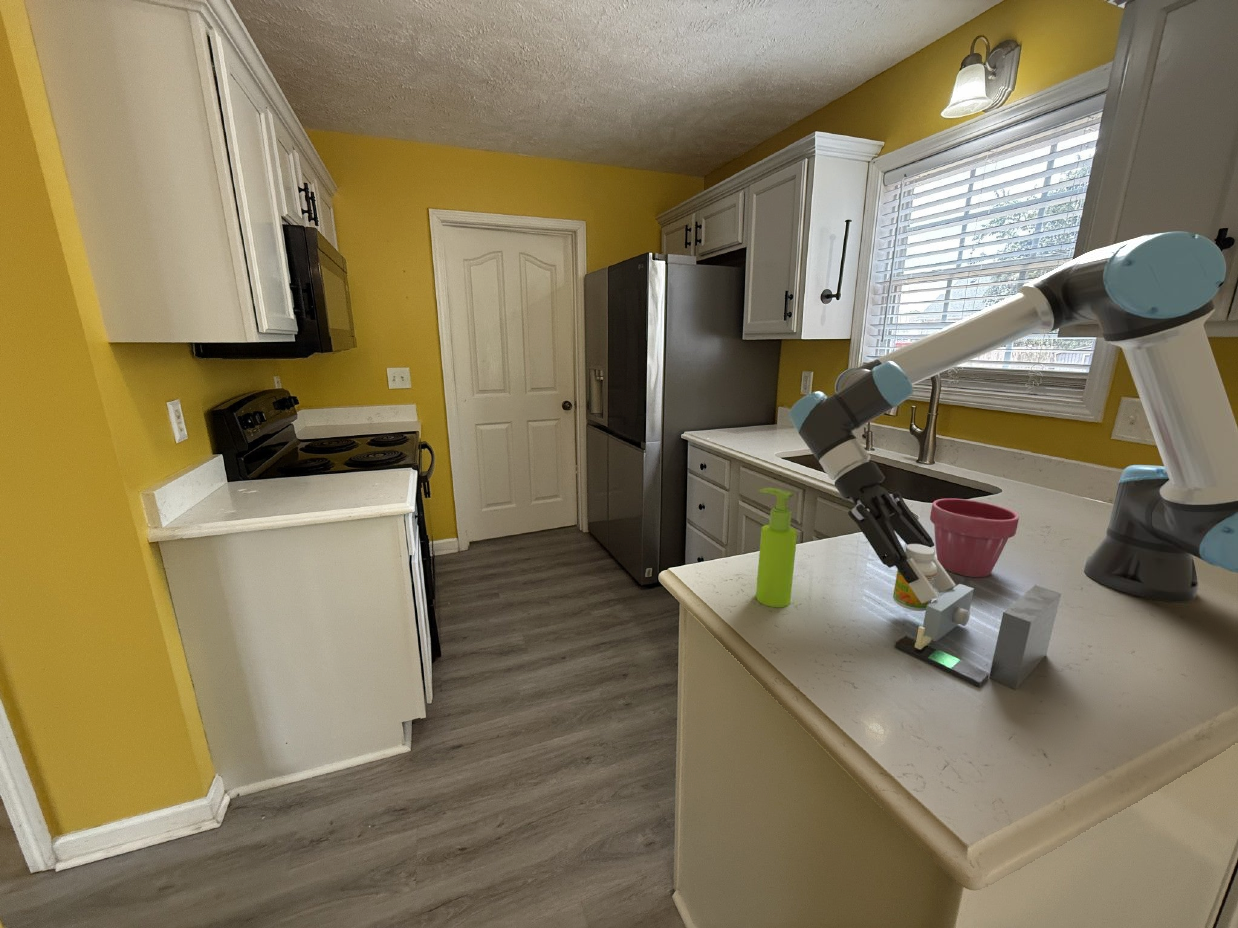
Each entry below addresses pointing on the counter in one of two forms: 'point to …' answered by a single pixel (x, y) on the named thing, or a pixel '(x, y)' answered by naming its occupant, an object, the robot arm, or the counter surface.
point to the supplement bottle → (924, 561)
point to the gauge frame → (1004, 642)
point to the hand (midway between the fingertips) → (938, 593)
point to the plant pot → (971, 534)
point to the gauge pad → (945, 614)
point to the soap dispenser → (776, 554)
